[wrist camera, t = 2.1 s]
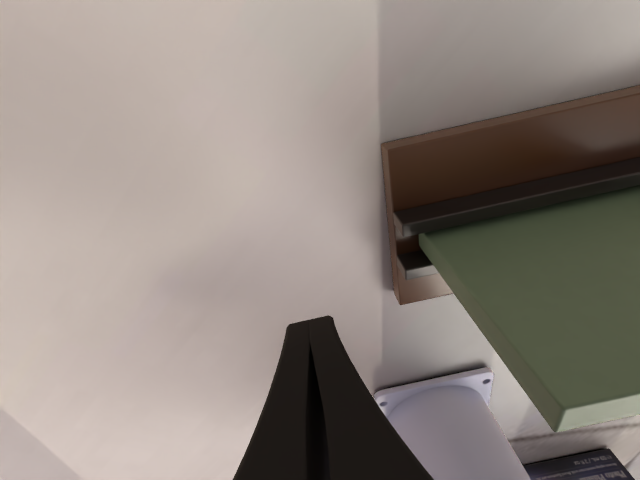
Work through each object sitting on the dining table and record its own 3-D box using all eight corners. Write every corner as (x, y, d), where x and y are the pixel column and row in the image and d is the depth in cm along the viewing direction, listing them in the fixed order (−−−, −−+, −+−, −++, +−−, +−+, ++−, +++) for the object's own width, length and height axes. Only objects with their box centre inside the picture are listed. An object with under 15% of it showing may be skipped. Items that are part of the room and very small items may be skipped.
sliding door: (640, 195, 14) (1004, 337, 7) (418, 245, 14) (554, 434, 7) (656, 156, 13) (1094, 273, 6) (417, 209, 13) (573, 386, 6)
